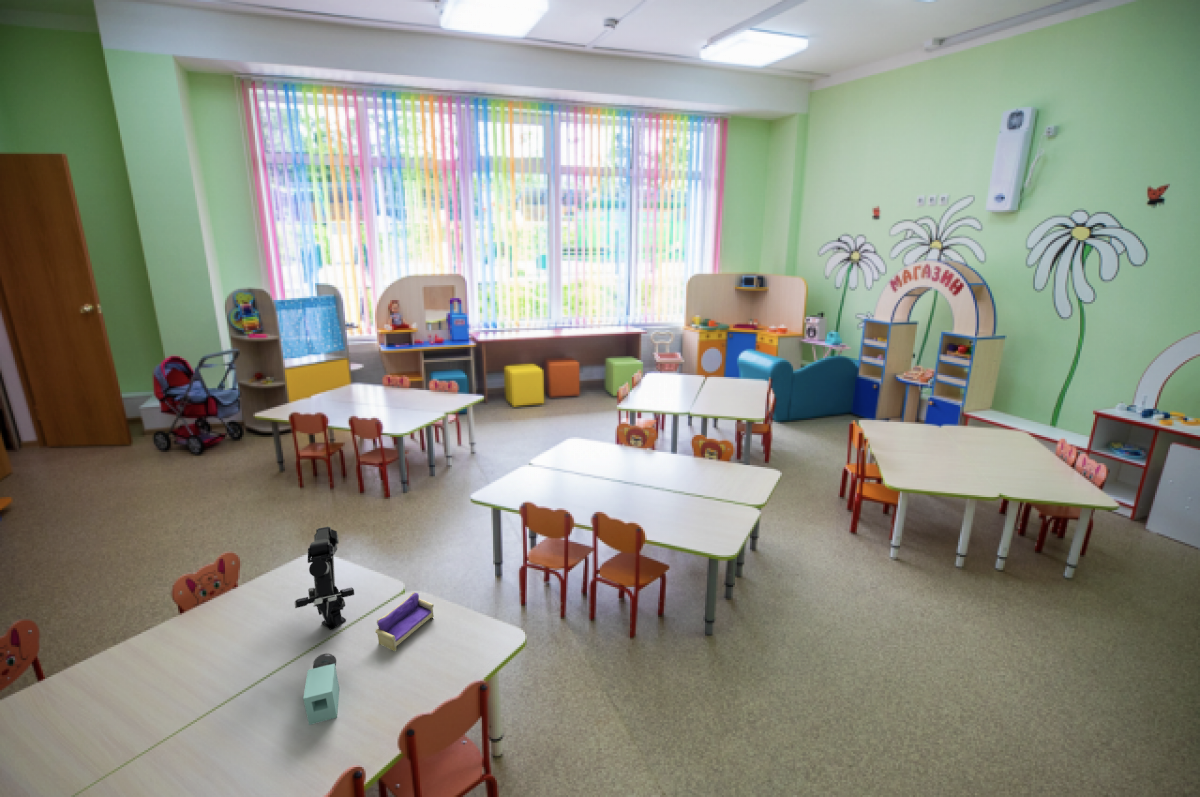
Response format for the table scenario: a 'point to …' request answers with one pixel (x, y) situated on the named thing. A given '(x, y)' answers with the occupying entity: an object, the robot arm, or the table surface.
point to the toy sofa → (403, 621)
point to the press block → (321, 694)
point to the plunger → (324, 660)
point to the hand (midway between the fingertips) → (327, 622)
